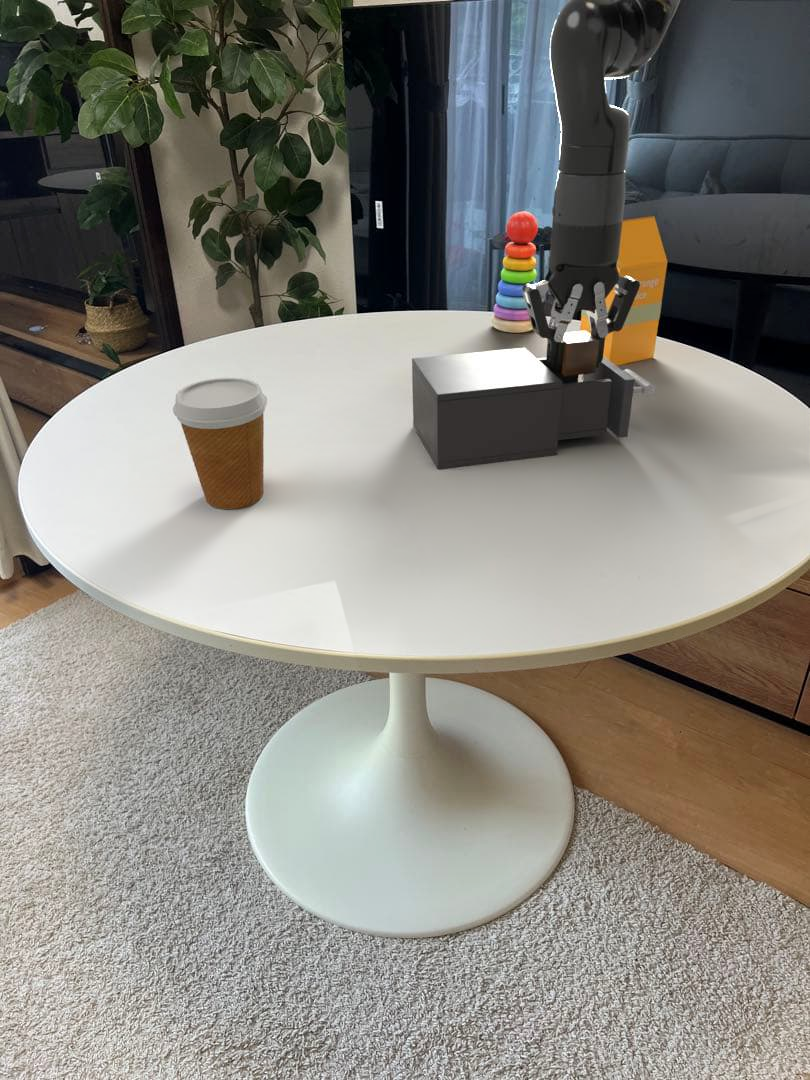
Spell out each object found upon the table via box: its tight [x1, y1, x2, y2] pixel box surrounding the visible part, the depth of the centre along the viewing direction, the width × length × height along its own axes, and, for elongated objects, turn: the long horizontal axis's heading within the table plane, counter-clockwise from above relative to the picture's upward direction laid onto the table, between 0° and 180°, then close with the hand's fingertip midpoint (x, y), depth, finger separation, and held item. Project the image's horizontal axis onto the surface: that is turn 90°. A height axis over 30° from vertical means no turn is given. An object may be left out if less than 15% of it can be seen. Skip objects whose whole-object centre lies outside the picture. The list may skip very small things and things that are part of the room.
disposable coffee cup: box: [172, 377, 268, 510], centre depth 83 cm, size 10×10×12 cm
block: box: [560, 331, 599, 376], centre depth 94 cm, size 4×4×4 cm
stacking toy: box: [491, 211, 539, 334], centre depth 132 cm, size 8×8×19 cm
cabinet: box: [411, 347, 563, 470], centre depth 95 cm, size 15×13×9 cm
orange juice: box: [579, 215, 668, 366], centre depth 118 cm, size 8×9×20 cm
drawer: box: [536, 356, 655, 441], centre depth 97 cm, size 18×11×7 cm, turn 102°
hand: (574, 367), depth 95 cm, fingers closed on block, 4 cm apart
